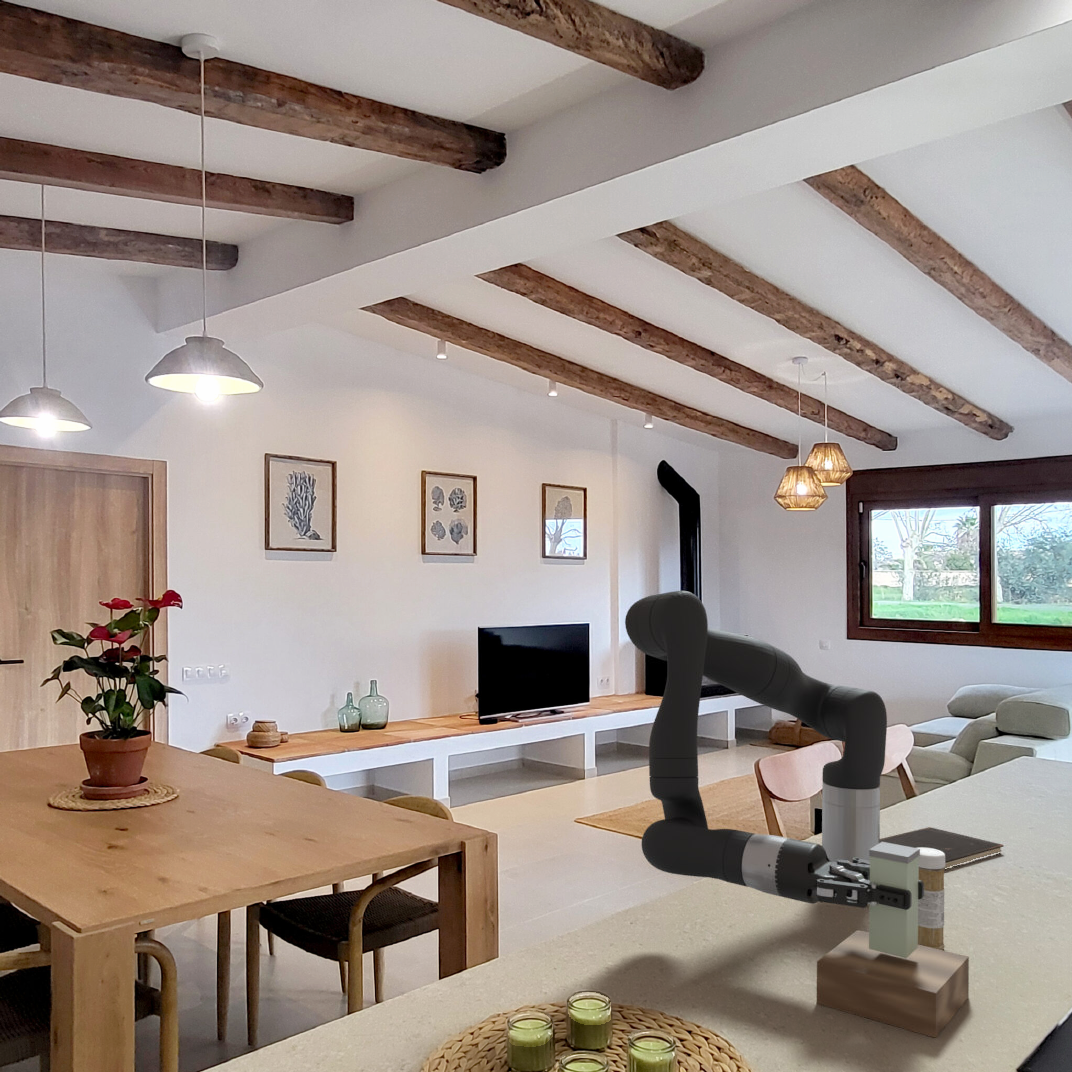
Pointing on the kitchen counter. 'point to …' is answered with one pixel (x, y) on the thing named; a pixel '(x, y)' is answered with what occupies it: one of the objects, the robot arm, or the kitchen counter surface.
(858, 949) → the walnut block
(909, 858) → the green tin canister
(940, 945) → the sprinkles bottle
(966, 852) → the hardcover book
